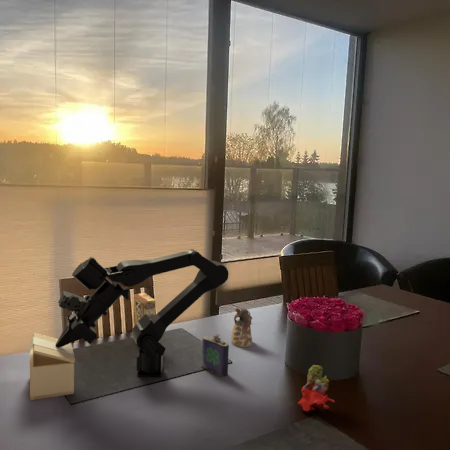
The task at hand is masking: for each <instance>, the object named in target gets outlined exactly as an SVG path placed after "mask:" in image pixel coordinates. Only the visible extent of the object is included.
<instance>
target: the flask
mask: <svg viewBox="0 0 450 450" xmlns="http://www.w3.org/2000/svg"><path fill="white" fill-rule="evenodd" d="M219 336H220V334H219V333H218V334H217V333H216V334H215V335H212V337H211V336H203V337H202V349H201V365H200V366H201V367H202V369H204V370H206V371H208V372H211V373H214V374H217V375H218V376H220V377H224V378H225V377H228V375H229V373H228V372H229V352H230V351H229V350H230V349H229V348H230V345H229V343H226V341H223V340H222V339H221V338H220V337H219Z"/></svg>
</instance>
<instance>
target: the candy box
mask: <svg viewBox="0 0 450 450" xmlns="http://www.w3.org/2000/svg"><path fill="white" fill-rule="evenodd" d="M156 301H157V300H156V299H155V298H153V297H151V296H150V295H149V294H147V293H146V292H144V293H142V292H141V293H136V294H133V327H134V326H135V325H136V324H135V322H137V321H139V320H140V319H141V318H142V317H143V316H144V315H145V314H147V315H148V316H149V317H151V316H153V315H156Z"/></svg>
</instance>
